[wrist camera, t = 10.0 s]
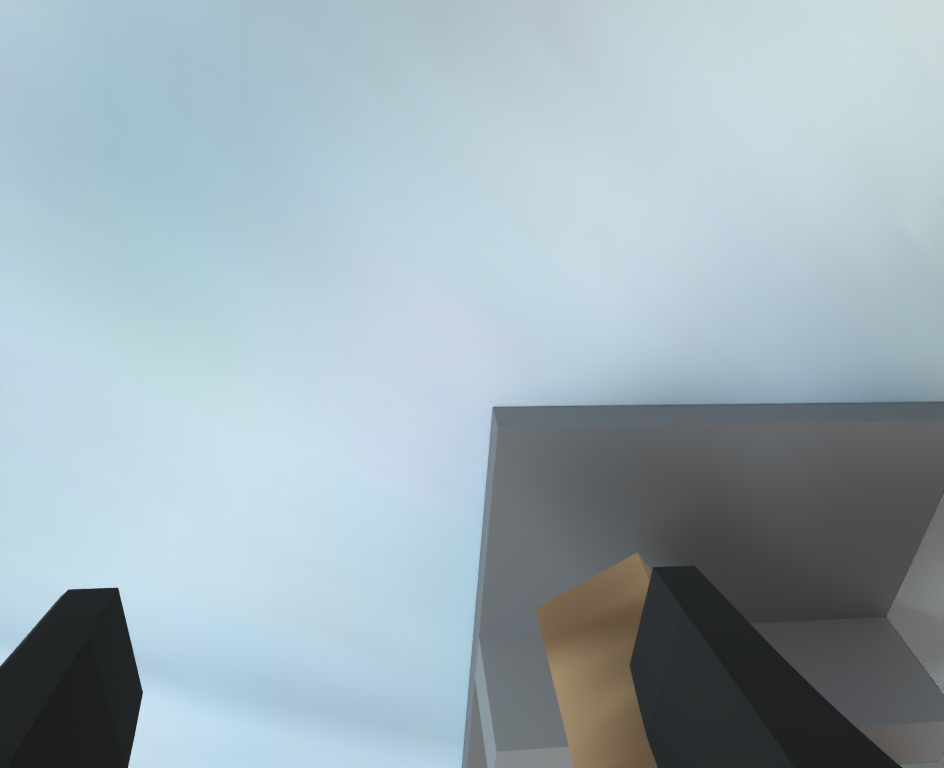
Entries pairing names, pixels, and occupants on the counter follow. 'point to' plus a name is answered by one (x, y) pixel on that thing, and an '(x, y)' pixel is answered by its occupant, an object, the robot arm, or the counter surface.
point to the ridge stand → (711, 548)
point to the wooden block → (599, 665)
